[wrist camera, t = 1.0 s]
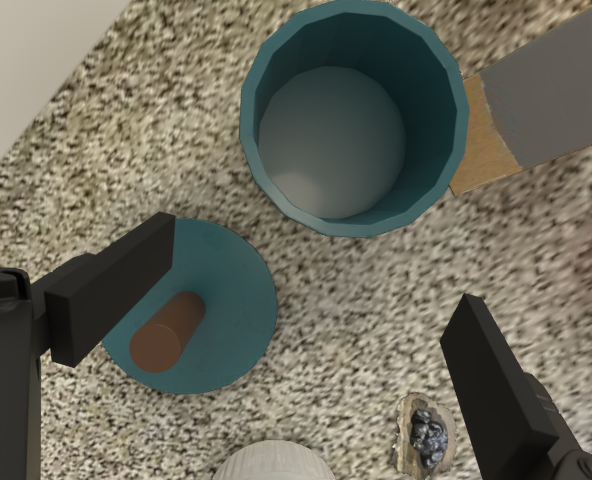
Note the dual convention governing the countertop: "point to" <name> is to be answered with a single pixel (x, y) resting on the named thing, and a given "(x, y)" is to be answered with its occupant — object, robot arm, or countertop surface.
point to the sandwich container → (529, 106)
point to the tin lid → (199, 314)
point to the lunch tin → (353, 118)
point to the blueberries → (424, 437)
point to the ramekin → (274, 463)
